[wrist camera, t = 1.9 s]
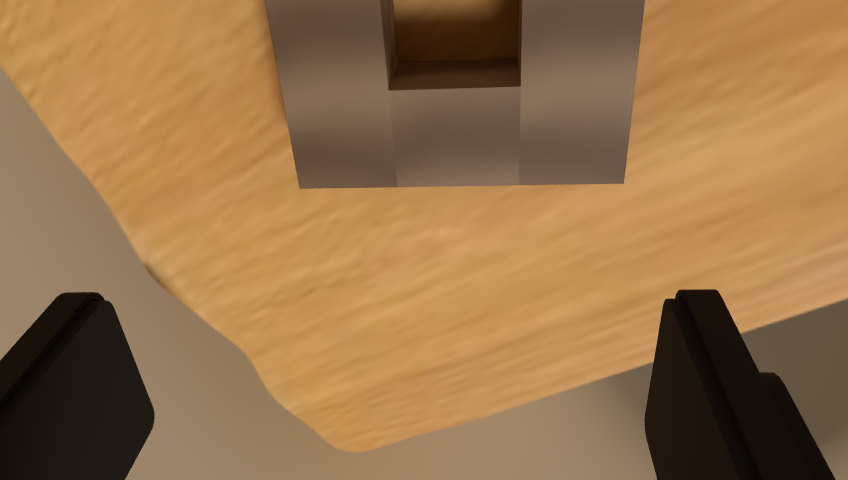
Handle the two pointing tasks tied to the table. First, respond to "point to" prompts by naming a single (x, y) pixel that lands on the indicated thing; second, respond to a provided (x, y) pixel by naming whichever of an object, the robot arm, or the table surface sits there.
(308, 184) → the bore block
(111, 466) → the robot arm
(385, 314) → the table surface
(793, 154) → the table surface
